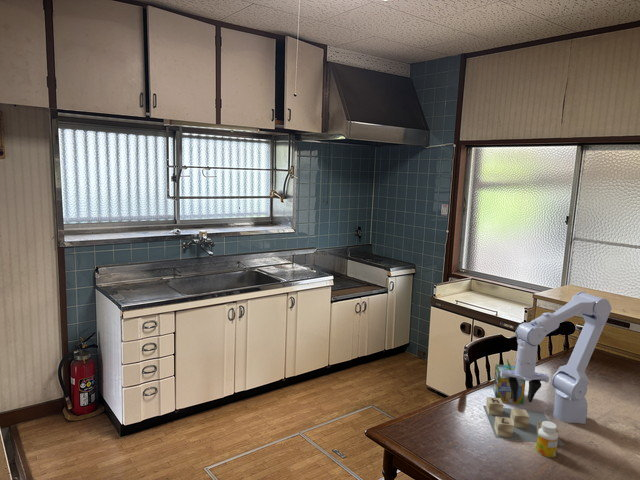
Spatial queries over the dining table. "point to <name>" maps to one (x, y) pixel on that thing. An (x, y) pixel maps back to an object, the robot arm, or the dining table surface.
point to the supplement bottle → (547, 439)
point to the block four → (494, 406)
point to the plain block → (519, 418)
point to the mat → (521, 433)
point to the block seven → (503, 426)
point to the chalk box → (507, 386)
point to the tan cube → (540, 426)
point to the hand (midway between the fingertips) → (521, 400)
